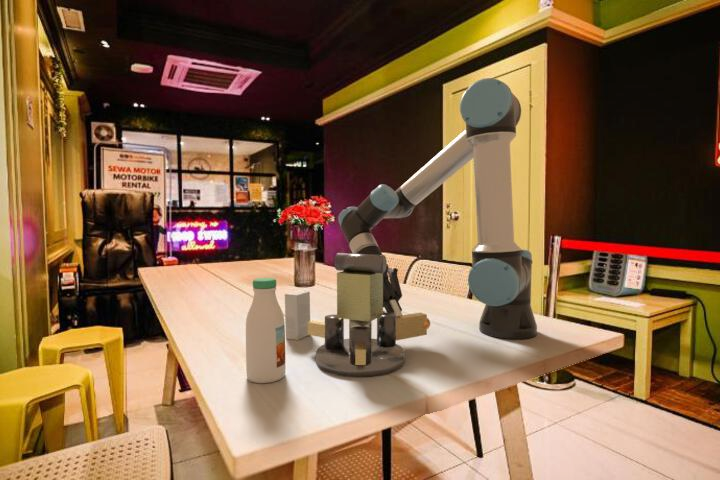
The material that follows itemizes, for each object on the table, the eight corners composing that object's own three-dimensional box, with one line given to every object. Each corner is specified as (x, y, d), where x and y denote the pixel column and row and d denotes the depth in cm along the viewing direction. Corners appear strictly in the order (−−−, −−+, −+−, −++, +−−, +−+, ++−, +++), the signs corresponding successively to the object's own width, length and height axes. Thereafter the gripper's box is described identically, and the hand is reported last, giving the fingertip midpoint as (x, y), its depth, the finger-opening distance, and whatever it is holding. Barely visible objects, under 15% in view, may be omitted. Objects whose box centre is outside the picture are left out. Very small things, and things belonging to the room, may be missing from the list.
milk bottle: (266, 387, 81) (264, 283, 79) (238, 379, 85) (236, 280, 83) (293, 374, 87) (292, 278, 86) (266, 367, 91) (264, 275, 90)
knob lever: (383, 348, 96) (383, 318, 95) (373, 343, 100) (373, 314, 99) (434, 338, 103) (434, 310, 103) (423, 334, 107) (423, 306, 107)
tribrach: (417, 353, 100) (417, 251, 99) (378, 389, 79) (378, 262, 78) (328, 339, 111) (328, 248, 109) (274, 369, 90) (272, 256, 88)
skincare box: (297, 332, 117) (297, 289, 117) (310, 334, 115) (310, 291, 115) (284, 338, 112) (284, 293, 111) (298, 340, 110) (297, 295, 109)
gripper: (381, 259, 126) (415, 328, 112) (342, 262, 119) (373, 335, 106) (391, 243, 121) (428, 312, 107) (351, 245, 114) (384, 319, 101)
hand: (400, 324), depth 107 cm, fingers closed
